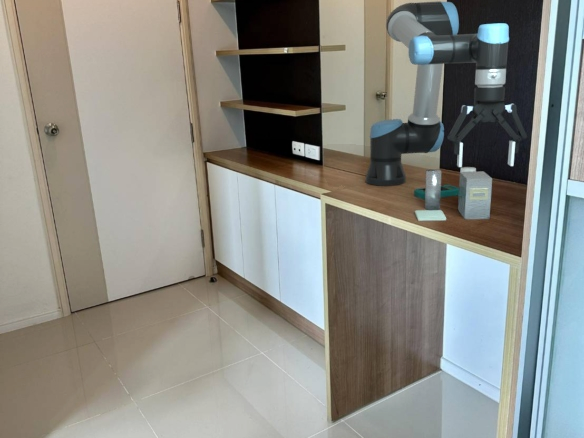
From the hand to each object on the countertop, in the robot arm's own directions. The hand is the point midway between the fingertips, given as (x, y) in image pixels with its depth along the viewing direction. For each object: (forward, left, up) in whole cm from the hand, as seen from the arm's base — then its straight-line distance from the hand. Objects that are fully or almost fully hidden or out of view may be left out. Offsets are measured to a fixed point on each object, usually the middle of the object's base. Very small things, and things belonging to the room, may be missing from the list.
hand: (484, 165), depth 147 cm
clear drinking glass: (-17, -11, -17) cm, 26 cm away
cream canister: (-20, 0, -17) cm, 26 cm away
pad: (-8, -13, -17) cm, 23 cm away
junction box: (-10, 0, -17) cm, 19 cm away
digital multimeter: (-34, -7, -17) cm, 39 cm away
